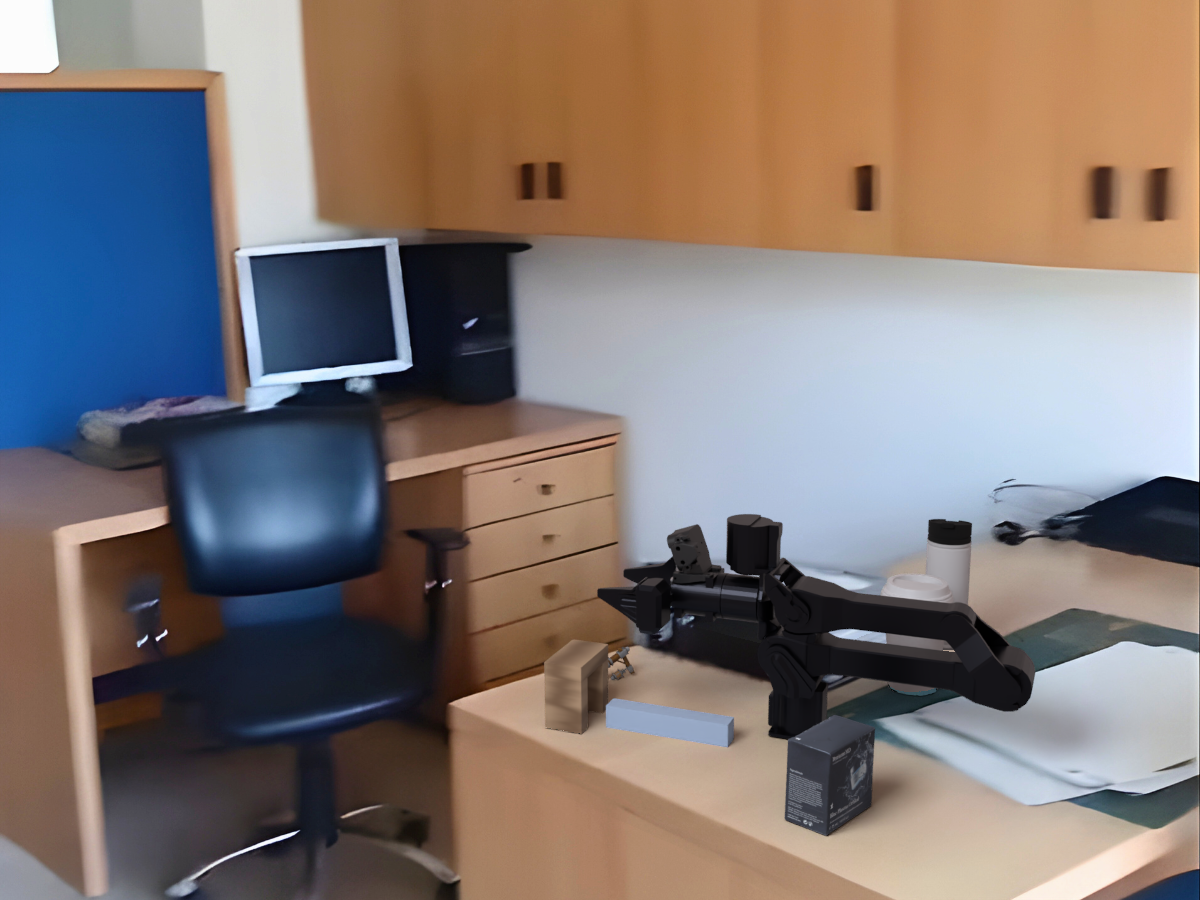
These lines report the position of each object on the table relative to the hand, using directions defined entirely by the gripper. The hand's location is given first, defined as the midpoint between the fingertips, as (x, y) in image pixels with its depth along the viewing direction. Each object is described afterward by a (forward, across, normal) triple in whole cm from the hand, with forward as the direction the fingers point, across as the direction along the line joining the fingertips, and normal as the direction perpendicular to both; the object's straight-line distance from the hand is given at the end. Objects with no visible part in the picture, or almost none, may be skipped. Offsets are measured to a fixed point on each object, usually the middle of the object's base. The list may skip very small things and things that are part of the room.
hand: (611, 582), depth 162 cm
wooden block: (+2, +6, +16) cm, 18 cm away
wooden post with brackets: (+4, -7, +17) cm, 19 cm away
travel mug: (-38, -37, +17) cm, 56 cm away
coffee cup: (-36, -20, +17) cm, 45 cm away
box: (-33, +20, +17) cm, 42 cm away
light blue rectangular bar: (-10, +6, +17) cm, 21 cm away
